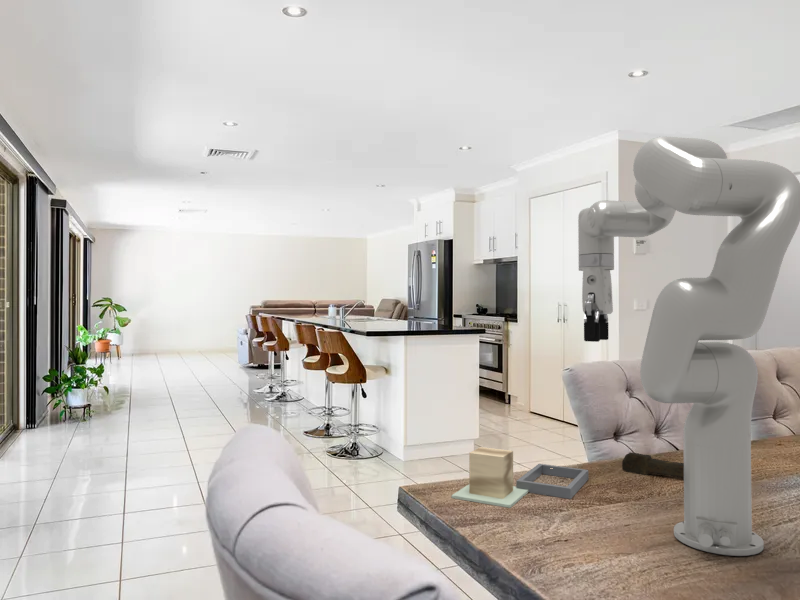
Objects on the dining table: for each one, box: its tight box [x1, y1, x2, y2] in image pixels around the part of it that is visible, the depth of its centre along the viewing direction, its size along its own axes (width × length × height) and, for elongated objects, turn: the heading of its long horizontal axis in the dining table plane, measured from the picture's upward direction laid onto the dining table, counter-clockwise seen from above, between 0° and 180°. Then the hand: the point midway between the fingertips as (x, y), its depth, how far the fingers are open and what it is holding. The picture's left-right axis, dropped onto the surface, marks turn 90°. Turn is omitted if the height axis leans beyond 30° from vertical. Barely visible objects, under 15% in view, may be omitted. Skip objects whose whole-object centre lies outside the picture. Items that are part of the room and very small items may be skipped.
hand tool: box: [621, 451, 684, 479], centre depth 132 cm, size 19×4×5 cm, turn 55°
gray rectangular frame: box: [515, 463, 589, 500], centre depth 125 cm, size 16×11×2 cm
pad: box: [451, 484, 528, 509], centre depth 118 cm, size 12×12×1 cm
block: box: [468, 446, 514, 499], centre depth 118 cm, size 6×7×8 cm
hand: (596, 340), depth 131 cm, fingers open, 9 cm apart
